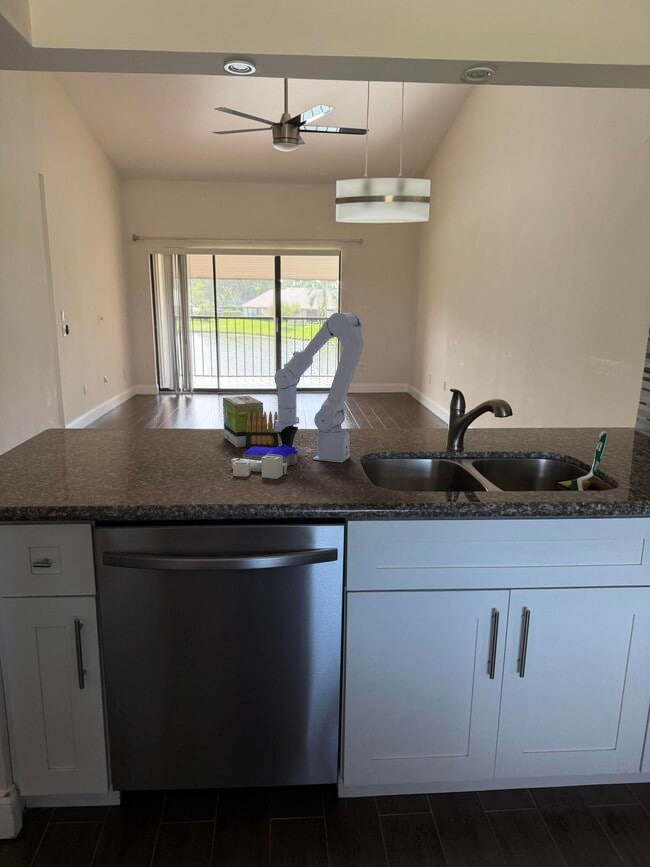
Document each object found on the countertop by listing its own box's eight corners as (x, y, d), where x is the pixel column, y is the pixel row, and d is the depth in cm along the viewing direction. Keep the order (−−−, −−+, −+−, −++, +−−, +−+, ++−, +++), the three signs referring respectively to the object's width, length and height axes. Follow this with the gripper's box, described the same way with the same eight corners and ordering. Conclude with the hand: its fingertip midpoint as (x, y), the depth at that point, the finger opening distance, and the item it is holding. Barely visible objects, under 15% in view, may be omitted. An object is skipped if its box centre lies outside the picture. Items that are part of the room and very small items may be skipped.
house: (292, 469, 167) (292, 451, 166) (242, 466, 170) (242, 448, 169) (301, 459, 178) (301, 442, 177) (254, 456, 181) (253, 440, 180)
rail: (287, 473, 163) (286, 462, 162) (284, 474, 161) (284, 464, 160) (234, 467, 168) (234, 457, 168) (231, 468, 166) (231, 459, 166)
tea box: (223, 438, 204) (221, 396, 201) (250, 435, 209) (249, 395, 206) (236, 447, 191) (234, 403, 188) (264, 444, 196) (264, 401, 192)
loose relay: (250, 473, 162) (249, 460, 161) (247, 476, 159) (247, 463, 158) (236, 473, 162) (235, 460, 162) (233, 476, 160) (232, 463, 159)
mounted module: (282, 474, 161) (282, 454, 159) (276, 478, 157) (276, 458, 156) (268, 473, 162) (268, 453, 161) (261, 477, 158) (261, 456, 157)
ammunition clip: (245, 447, 190) (245, 410, 190) (246, 447, 191) (246, 411, 191) (278, 448, 189) (278, 411, 190) (278, 447, 191) (279, 411, 191)
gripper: (285, 402, 189) (285, 443, 192) (265, 410, 176) (265, 453, 179) (305, 404, 187) (305, 445, 190) (286, 411, 174) (286, 455, 176)
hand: (287, 449), depth 184 cm, fingers closed
